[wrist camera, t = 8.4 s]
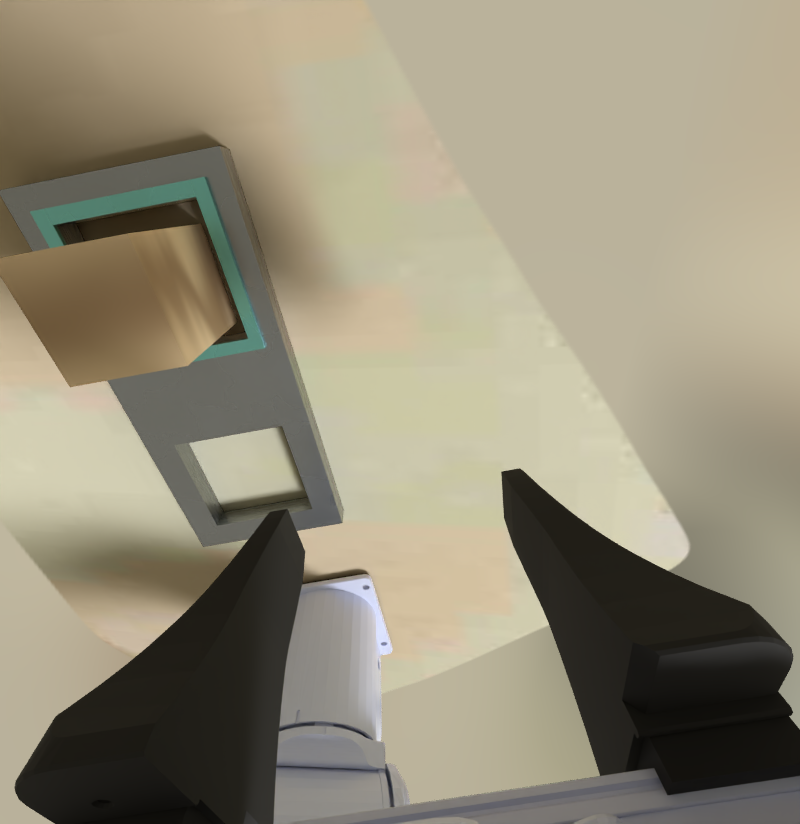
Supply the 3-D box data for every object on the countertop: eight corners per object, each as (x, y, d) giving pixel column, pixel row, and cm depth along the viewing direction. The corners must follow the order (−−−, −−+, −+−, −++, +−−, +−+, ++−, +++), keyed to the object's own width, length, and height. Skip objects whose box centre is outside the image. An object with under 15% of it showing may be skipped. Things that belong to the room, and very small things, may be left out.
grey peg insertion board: (343, 509, 26) (342, 525, 25) (210, 532, 26) (202, 549, 25) (229, 149, 16) (217, 145, 15) (21, 191, 17) (-7, 190, 15)
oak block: (237, 321, 20) (187, 365, 14) (150, 337, 20) (70, 387, 15) (201, 223, 18) (127, 233, 12) (104, 242, 18) (-10, 259, 12)
